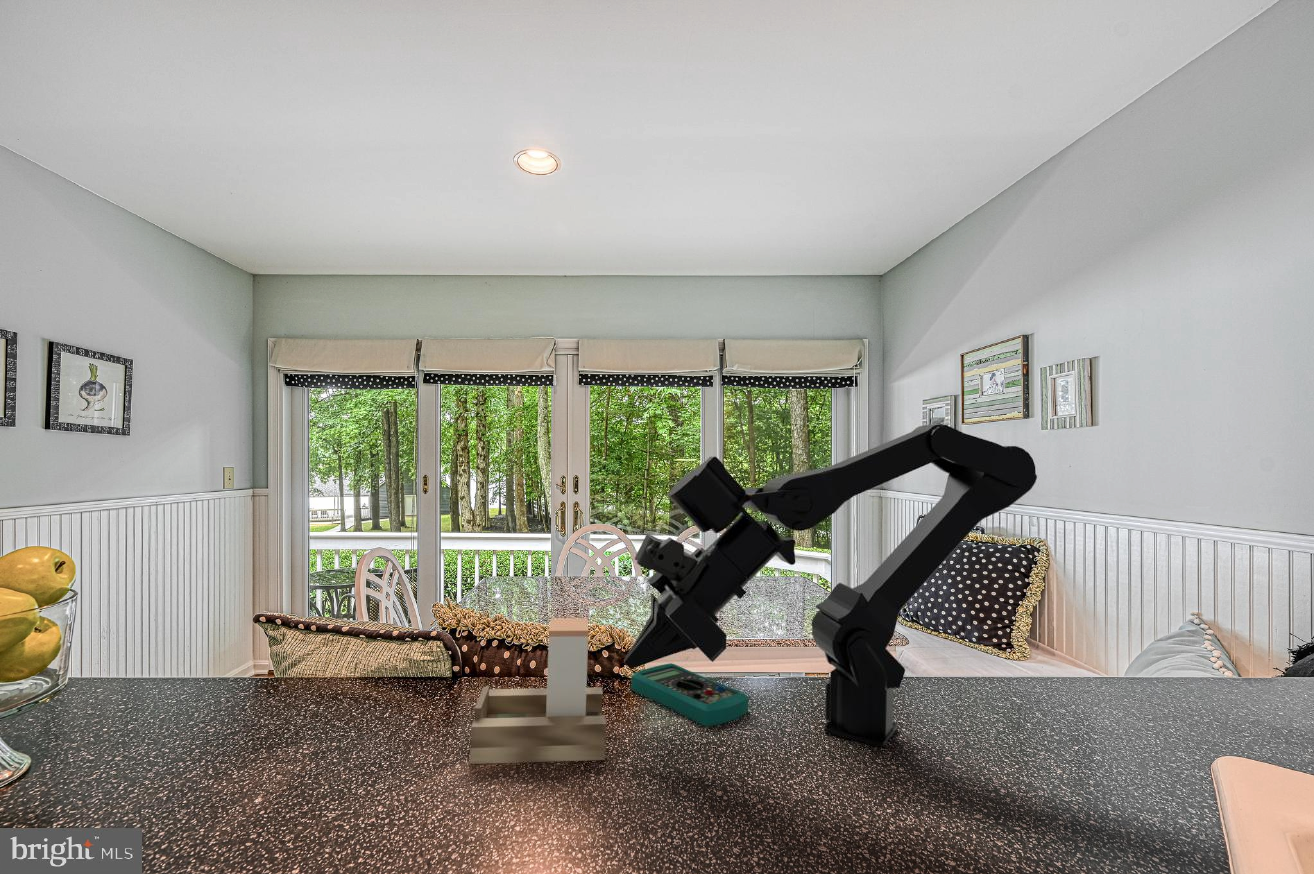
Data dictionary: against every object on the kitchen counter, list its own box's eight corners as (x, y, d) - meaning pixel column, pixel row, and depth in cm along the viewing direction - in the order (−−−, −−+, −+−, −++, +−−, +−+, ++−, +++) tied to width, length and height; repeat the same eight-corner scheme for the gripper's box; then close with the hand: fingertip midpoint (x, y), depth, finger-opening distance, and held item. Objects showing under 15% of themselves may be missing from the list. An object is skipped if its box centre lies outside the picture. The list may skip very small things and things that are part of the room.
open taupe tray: (600, 718, 72) (602, 678, 72) (604, 759, 62) (606, 713, 62) (484, 720, 71) (486, 680, 71) (469, 764, 61) (471, 716, 61)
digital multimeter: (709, 733, 70) (710, 706, 70) (628, 692, 82) (629, 669, 82) (753, 717, 75) (753, 692, 75) (670, 681, 86) (671, 659, 86)
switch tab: (584, 711, 70) (587, 618, 70) (585, 731, 65) (588, 630, 65) (547, 712, 69) (550, 618, 69) (545, 732, 64) (549, 630, 64)
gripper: (668, 503, 78) (575, 592, 77) (697, 518, 60) (575, 636, 58) (728, 568, 79) (637, 657, 77) (775, 602, 61) (657, 721, 59)
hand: (627, 664), depth 68 cm, fingers closed
